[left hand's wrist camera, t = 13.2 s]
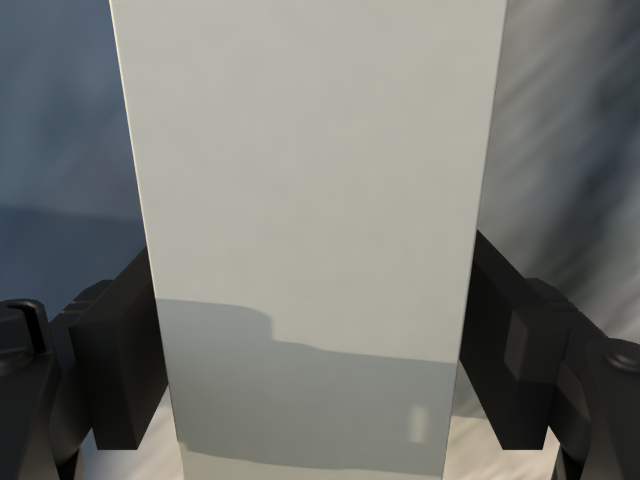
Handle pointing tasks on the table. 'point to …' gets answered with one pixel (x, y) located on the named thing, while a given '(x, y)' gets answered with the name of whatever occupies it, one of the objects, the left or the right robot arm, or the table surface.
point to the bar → (310, 222)
